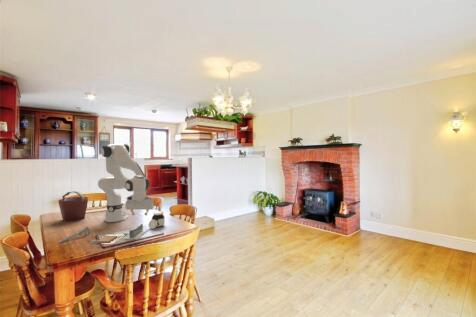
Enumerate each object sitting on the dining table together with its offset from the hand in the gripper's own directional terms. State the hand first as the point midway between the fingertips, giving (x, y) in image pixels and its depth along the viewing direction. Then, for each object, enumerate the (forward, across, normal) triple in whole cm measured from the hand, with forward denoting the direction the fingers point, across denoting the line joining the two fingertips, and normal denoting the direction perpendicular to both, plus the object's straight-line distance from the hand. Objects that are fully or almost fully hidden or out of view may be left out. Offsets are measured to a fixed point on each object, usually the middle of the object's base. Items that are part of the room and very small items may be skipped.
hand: (139, 215), depth 179 cm
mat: (+13, +15, +14) cm, 24 cm away
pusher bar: (+12, 0, +6) cm, 14 cm away
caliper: (+14, +41, +12) cm, 45 cm away
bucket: (+15, +76, -40) cm, 87 cm away
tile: (+12, +15, +13) cm, 23 cm away
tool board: (+13, 0, +6) cm, 15 cm away
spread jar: (+14, -8, -14) cm, 21 cm away
